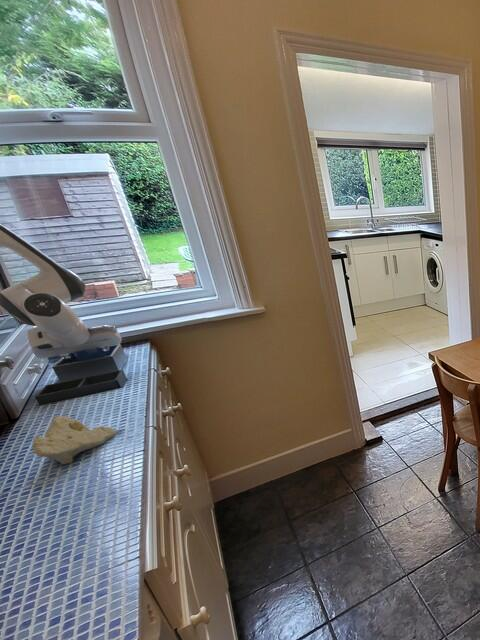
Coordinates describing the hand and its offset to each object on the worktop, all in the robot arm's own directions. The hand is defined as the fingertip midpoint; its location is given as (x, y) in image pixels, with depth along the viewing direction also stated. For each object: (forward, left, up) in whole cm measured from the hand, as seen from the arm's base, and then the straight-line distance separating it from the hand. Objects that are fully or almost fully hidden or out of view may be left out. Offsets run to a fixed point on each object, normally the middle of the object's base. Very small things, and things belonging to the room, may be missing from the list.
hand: (87, 353), depth 137 cm
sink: (0, -1, -7) cm, 7 cm away
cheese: (+10, -68, -7) cm, 69 cm away
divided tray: (+2, -22, -7) cm, 23 cm away
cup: (0, -1, -6) cm, 6 cm away
